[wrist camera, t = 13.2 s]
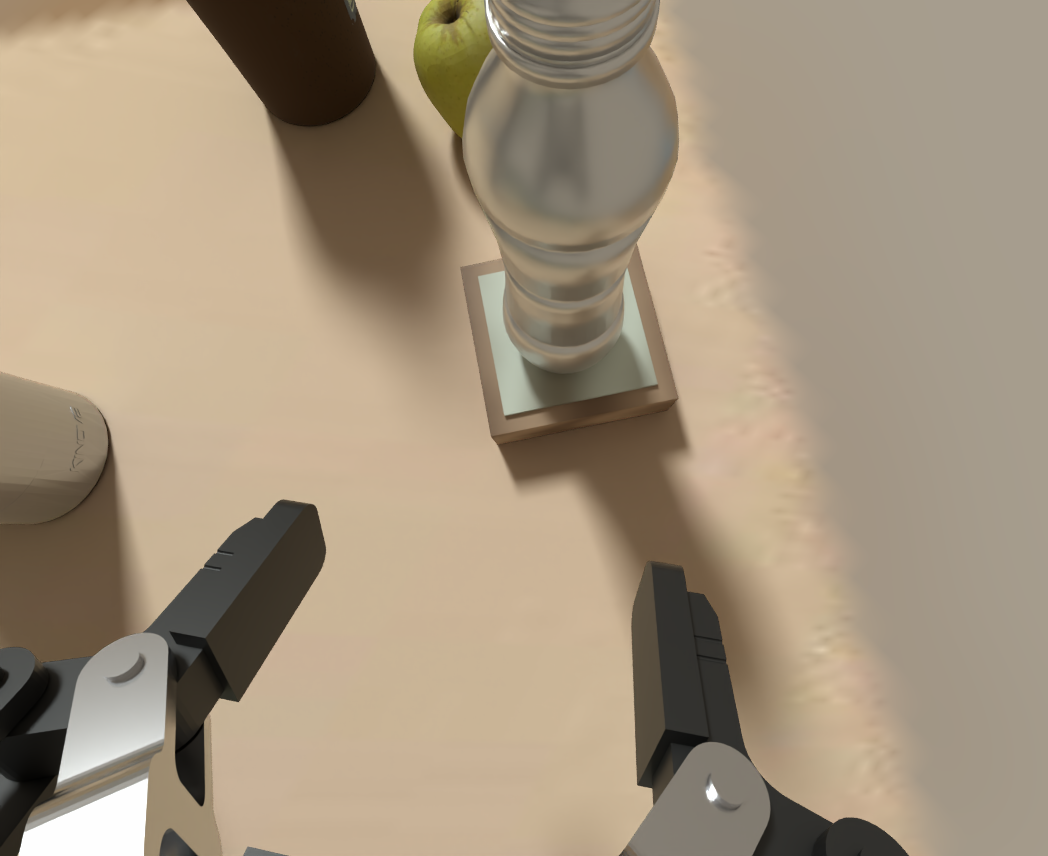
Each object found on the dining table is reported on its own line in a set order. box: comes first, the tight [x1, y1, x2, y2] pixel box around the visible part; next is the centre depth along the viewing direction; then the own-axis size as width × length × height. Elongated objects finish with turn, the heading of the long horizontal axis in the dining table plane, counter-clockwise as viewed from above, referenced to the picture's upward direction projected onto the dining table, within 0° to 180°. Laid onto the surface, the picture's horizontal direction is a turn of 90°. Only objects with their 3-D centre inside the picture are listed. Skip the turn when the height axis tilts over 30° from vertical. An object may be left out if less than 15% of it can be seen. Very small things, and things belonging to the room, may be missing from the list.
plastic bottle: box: [462, 0, 679, 374], centre depth 19 cm, size 6×7×20 cm
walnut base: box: [460, 243, 678, 445], centre depth 30 cm, size 11×11×3 cm
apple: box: [414, 0, 493, 138], centre depth 32 cm, size 8×8×10 cm
